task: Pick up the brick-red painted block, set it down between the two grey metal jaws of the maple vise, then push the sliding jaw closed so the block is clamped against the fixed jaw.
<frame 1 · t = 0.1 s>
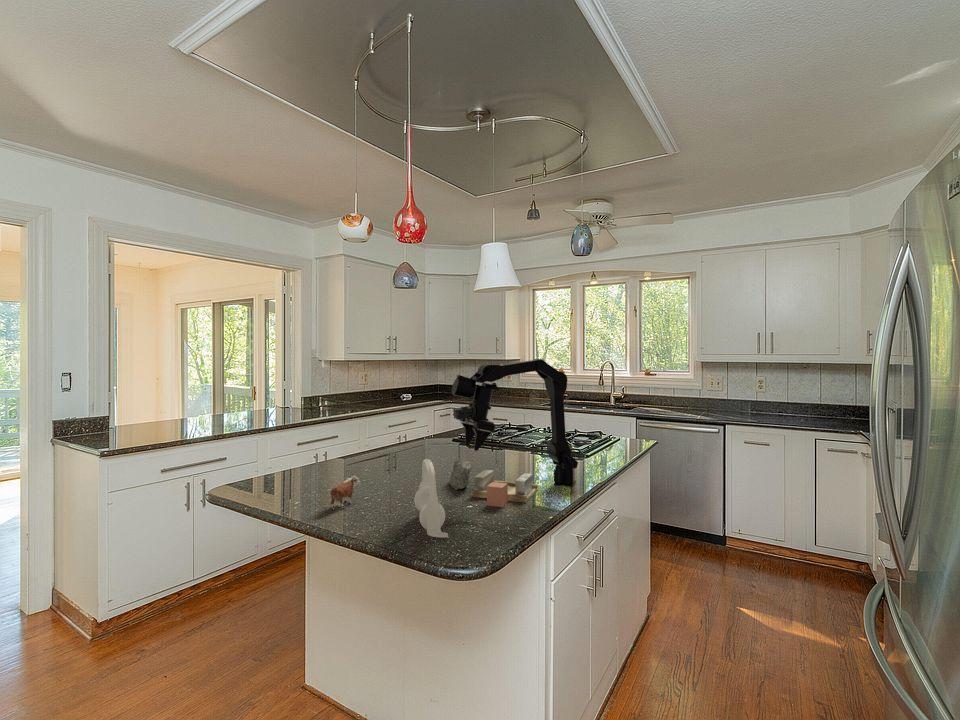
hand: (471, 447, 164), 15 cm above the countertop, tool pointing down, fingers open, 9 cm apart
block: (497, 504, 155), on the countertop
vise base: (505, 493, 165), on the countertop
rock: (460, 486, 175), on the countertop
bull figurine: (345, 506, 155), on the countertop
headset: (430, 526, 136), on the countertop
jaw: (524, 484, 163), point 4 cm above the countertop, slide at 0.0 cm
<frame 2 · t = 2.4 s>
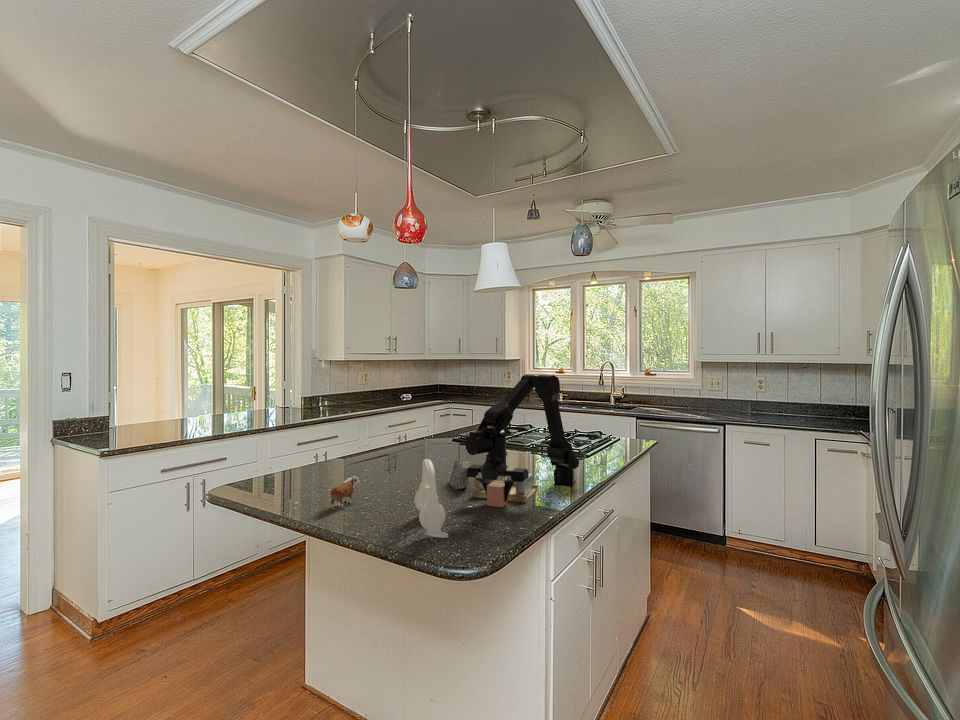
hand: (497, 500, 155), 1 cm above the countertop, tool pointing down, fingers closed on block, 5 cm apart
block: (497, 503, 155), on the countertop, touching gripper
everything else where it was.
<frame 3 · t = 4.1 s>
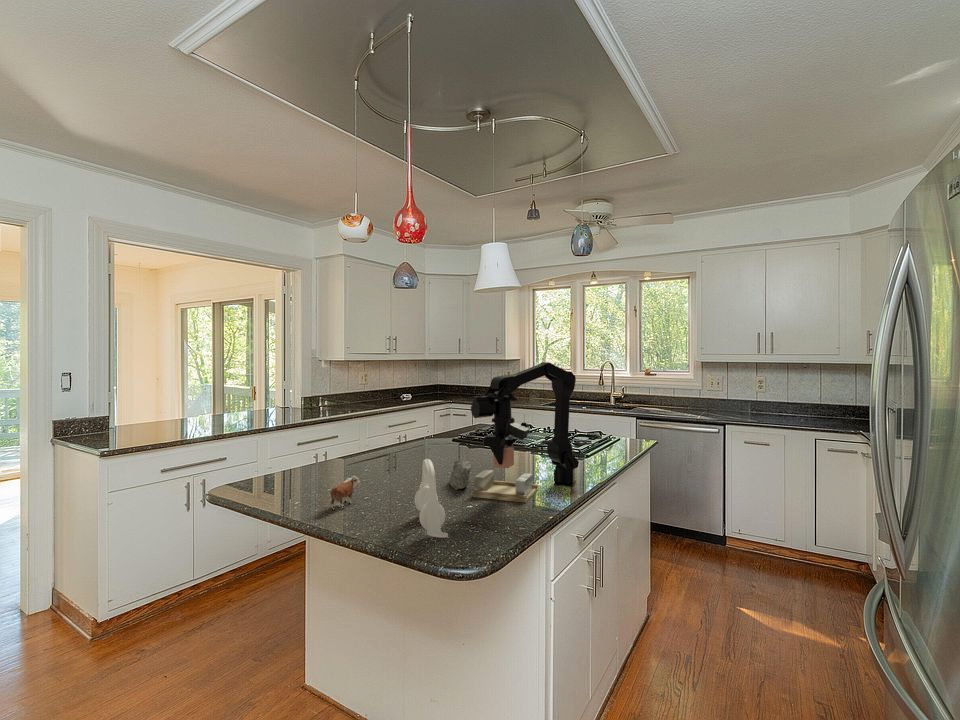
hand: (503, 462, 164), 11 cm above the countertop, tool pointing down, fingers closed on block, 5 cm apart
block: (504, 465, 164), point 10 cm above the countertop, touching gripper
everything else where it was.
when the fingers open (3 cm above the countertop, at t = 6.0 s): block drops 1 cm, resting on vise base.
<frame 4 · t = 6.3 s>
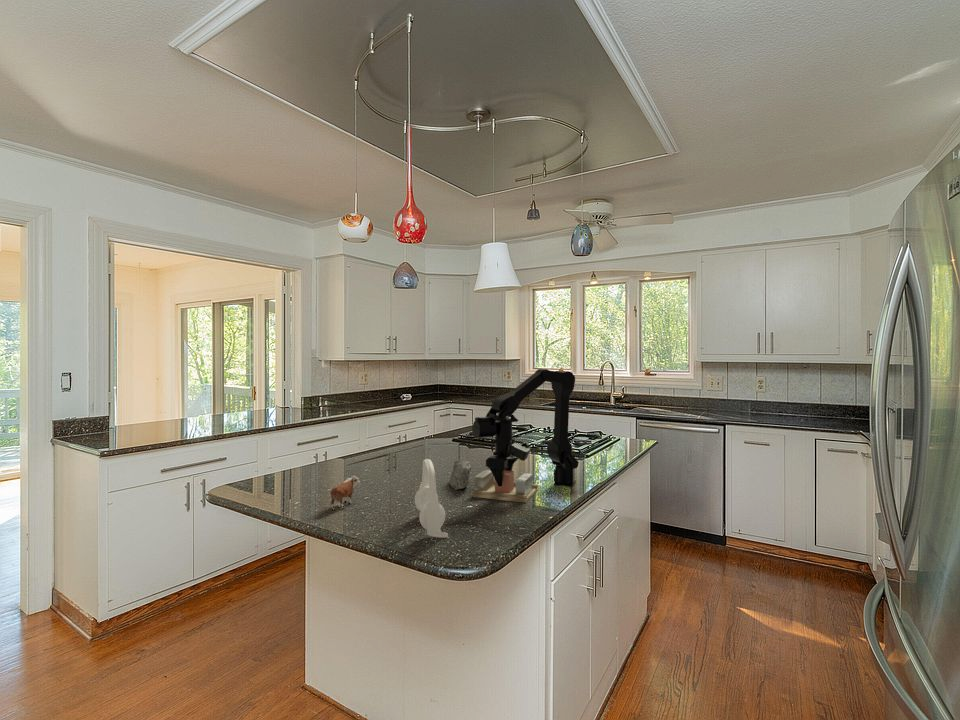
hand: (504, 482, 165), 3 cm above the countertop, tool pointing down, fingers open, 8 cm apart
block: (504, 490, 165), point 1 cm above the countertop, touching vise base
everything else where it was.
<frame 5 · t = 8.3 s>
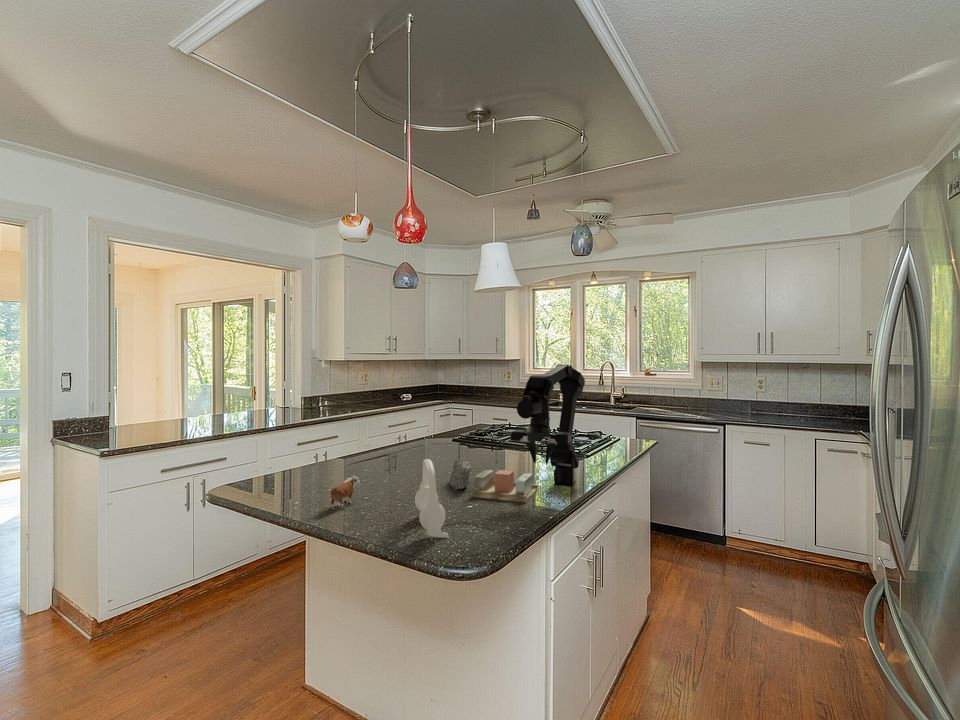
hand: (540, 463, 160), 11 cm above the countertop, tool pointing down, fingers open, 4 cm apart
nothing on the countertop moved.
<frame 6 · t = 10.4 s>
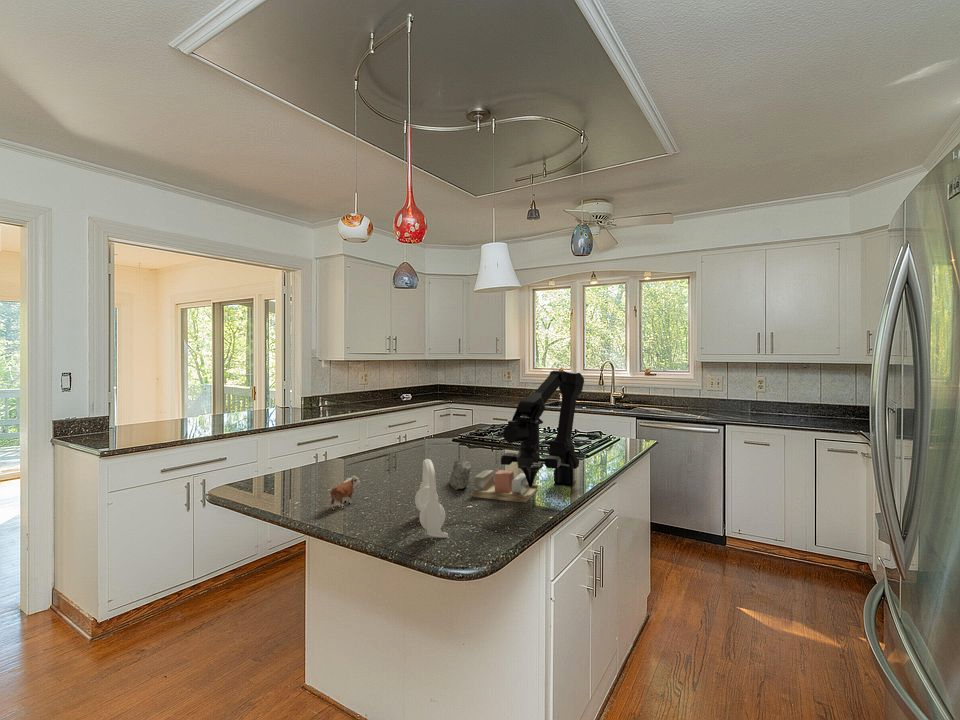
hand: (530, 486, 162), 3 cm above the countertop, tool pointing down, fingers closed
jaw: (520, 484, 163), point 4 cm above the countertop, slide at 1.2 cm, touching gripper
everything else where it was.
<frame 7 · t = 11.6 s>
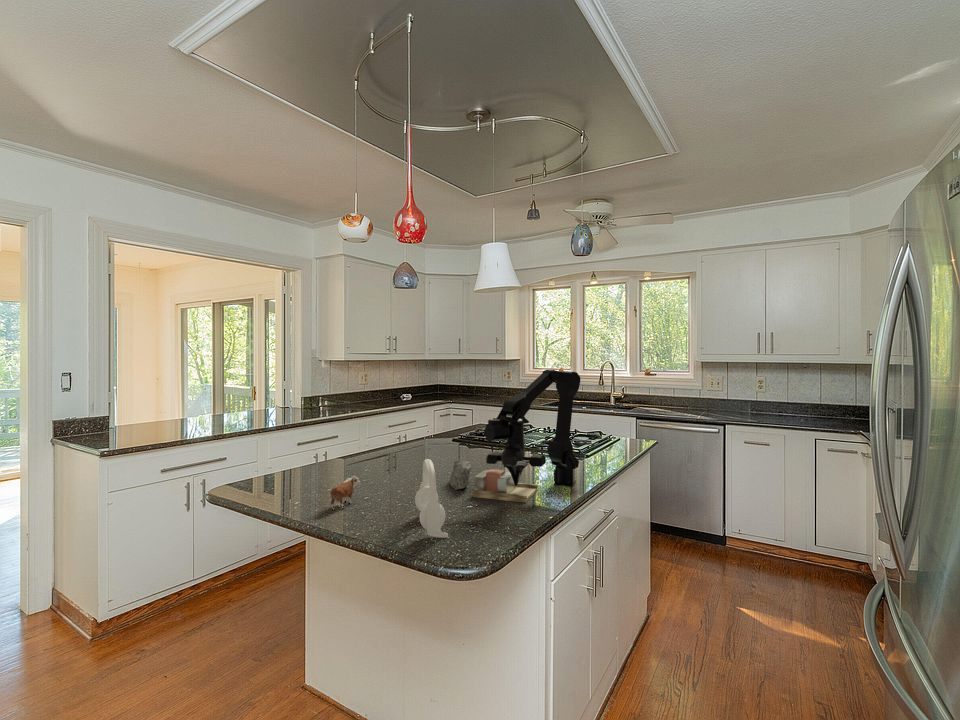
hand: (516, 485, 164), 3 cm above the countertop, tool pointing down, fingers closed
block: (495, 489, 166), point 1 cm above the countertop, touching jaw, vise base
jaw: (506, 483, 165), point 4 cm above the countertop, slide at 6.0 cm, touching block, gripper
everything else where it was.
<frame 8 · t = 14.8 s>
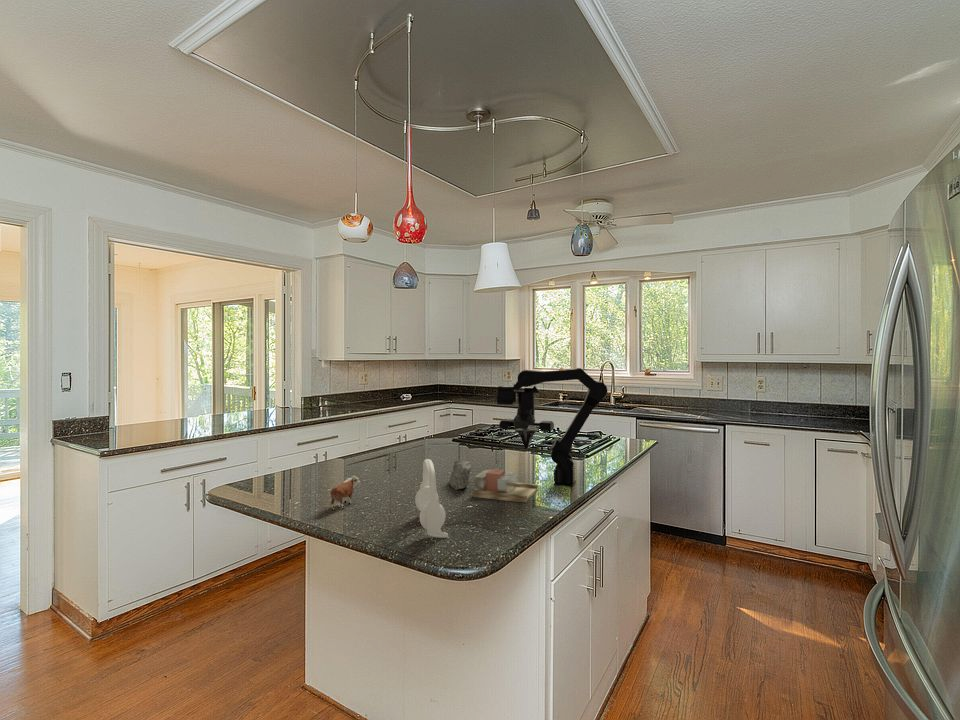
hand: (526, 449, 178), 12 cm above the countertop, tool pointing down, fingers closed
jaw: (506, 483, 165), point 4 cm above the countertop, slide at 6.0 cm, touching block
everything else where it was.
at the end: jaw slide at 6.0 cm; block 0.3 cm from the target spot, point 1.0 cm above the countertop; block tilted 0° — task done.
